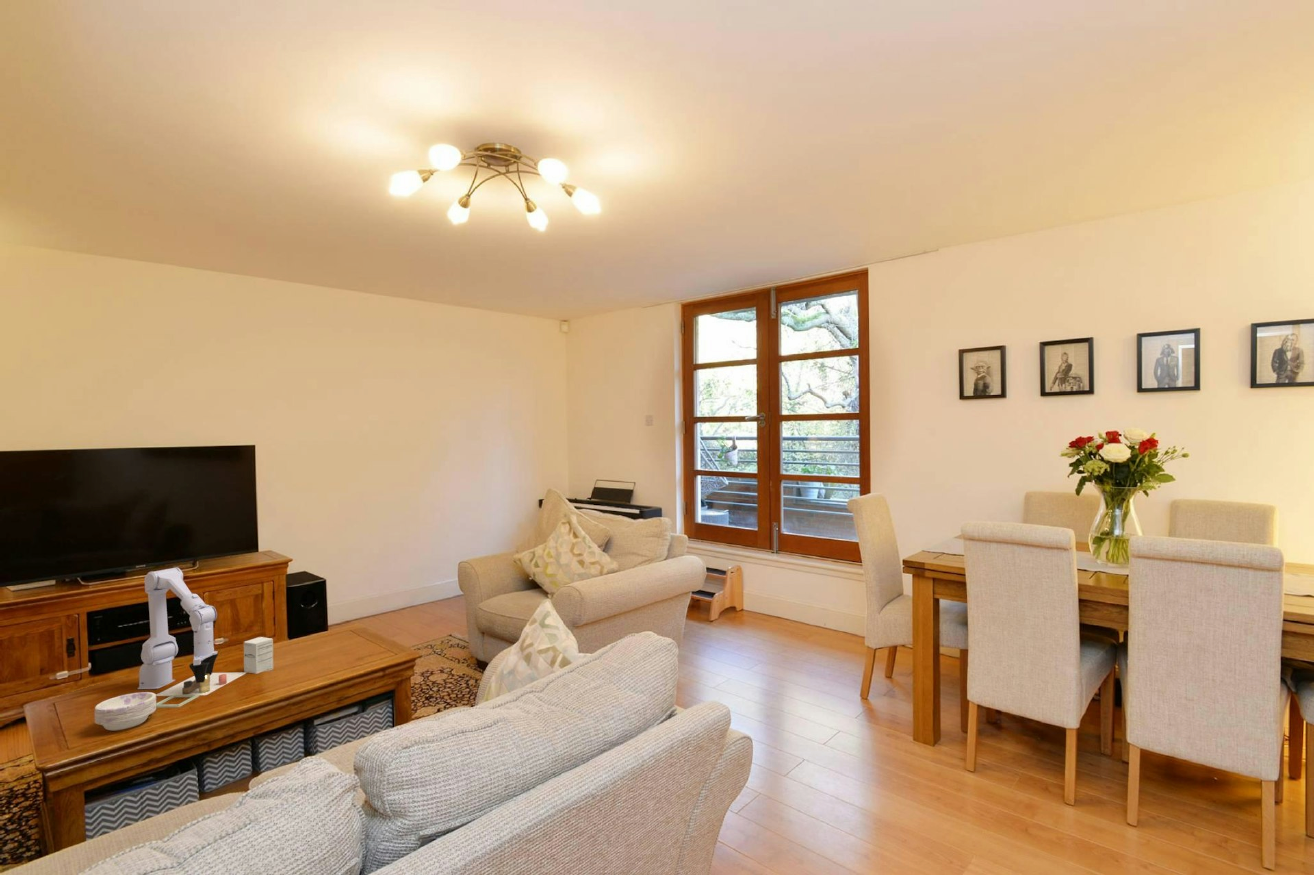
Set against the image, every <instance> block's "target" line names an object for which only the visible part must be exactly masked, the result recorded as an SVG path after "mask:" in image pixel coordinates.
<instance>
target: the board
mask: <svg viewBox="0 0 1314 875" xmlns="http://www.w3.org/2000/svg"><path fill="white" fill-rule="evenodd" d="M247 673H248V672H244V671H243V672H242V671H241V672H212V674H211V675H210V691H209V692H206V693H199V687H198V688H197V689H195V690H194V691H193V692H191V693H190V694H199V696H207V695H209V694H211V693H213V692H215V691H217V690H218V689H220V688H222V687H224V686H225V685H227V684H229V683H231V682H233V681H235V680H236V679H238V678H240V677H242V676H244V675H245V674H247ZM222 674H226V675H227V683H226V684H224V685H219V675H222ZM194 680H195V676H190V677H189V678H187V679H185V680H183V681H181V682H179V683H176V684H175V685H173V686H171V687H169V688H167V689H165V690H163V691H161V692H159V693H157V694H156V697H170V696H172V695H180V694H182V688H183V687H184V682H186V681H192V682H193V681H194Z"/></svg>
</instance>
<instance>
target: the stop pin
mask: <svg viewBox="0 0 1314 875" xmlns="http://www.w3.org/2000/svg"><path fill="white" fill-rule="evenodd" d="M209 691H210V674H209V673H206V676H205V681H204V682H202V683H199V693H206V692H209Z"/></svg>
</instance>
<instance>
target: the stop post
mask: <svg viewBox="0 0 1314 875" xmlns="http://www.w3.org/2000/svg"><path fill="white" fill-rule="evenodd" d="M226 683H227V675H226V674H222V675H219V685H224V684H226ZM227 684H228V683H227ZM227 684H226V685H227ZM224 686H225V685H224Z"/></svg>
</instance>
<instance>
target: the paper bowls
mask: <svg viewBox="0 0 1314 875" xmlns="http://www.w3.org/2000/svg"><path fill="white" fill-rule="evenodd" d="M156 695H157V694H156V693H154V692H151V691H150V692H149V691H145V692H144V691H143V692H133V693H127V694H126V693H125V694H122V695H118V696H115V697H112V698H108V699H106V700H103V701H101V702H100V703H98V704H97V705H95V707H94V723H95V724H96V725H99V726H100V725H101V726H102V727H103V728H104V729H105V730H107V731H111V732H112V731H122V730H127V729H131V728H133V727H137V726H139V725H142V724H143V723H144V722H146V720H148V717H149V715H151V714H153V713H154V712H155V711H156V710H157V708H156V703H157V696H156Z"/></svg>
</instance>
